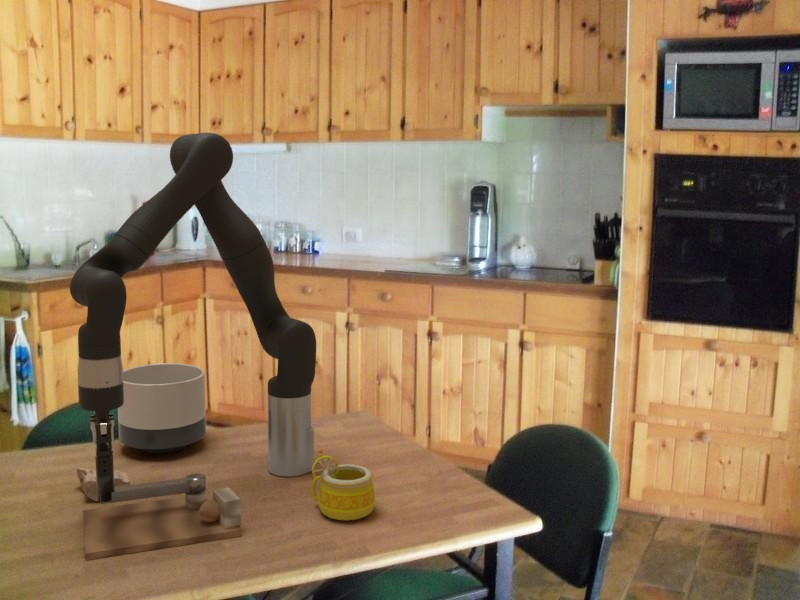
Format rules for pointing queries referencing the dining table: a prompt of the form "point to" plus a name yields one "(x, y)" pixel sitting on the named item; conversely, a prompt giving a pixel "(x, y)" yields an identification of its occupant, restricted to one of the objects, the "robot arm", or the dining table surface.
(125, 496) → the lever
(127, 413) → the planter
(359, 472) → the mug
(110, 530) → the board
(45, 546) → the dining table surface
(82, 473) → the stone
